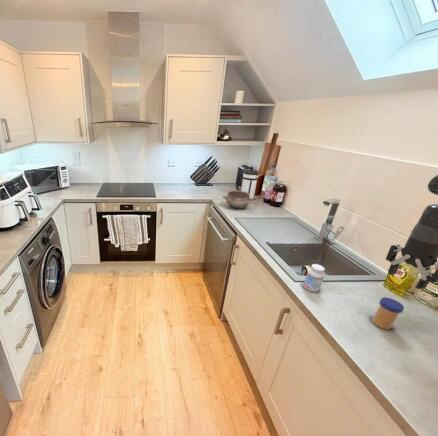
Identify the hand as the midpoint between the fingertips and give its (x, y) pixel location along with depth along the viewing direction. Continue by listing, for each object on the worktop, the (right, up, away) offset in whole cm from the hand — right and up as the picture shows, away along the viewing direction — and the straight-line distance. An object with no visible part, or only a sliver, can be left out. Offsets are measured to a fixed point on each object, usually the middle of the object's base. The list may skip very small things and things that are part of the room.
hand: (404, 280), depth 80 cm
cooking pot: (-12, +30, +119) cm, 124 cm away
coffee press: (+4, +39, +140) cm, 145 cm away
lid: (0, -9, +4) cm, 10 cm away
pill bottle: (-14, -10, +26) cm, 31 cm away
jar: (0, -18, +8) cm, 20 cm away
